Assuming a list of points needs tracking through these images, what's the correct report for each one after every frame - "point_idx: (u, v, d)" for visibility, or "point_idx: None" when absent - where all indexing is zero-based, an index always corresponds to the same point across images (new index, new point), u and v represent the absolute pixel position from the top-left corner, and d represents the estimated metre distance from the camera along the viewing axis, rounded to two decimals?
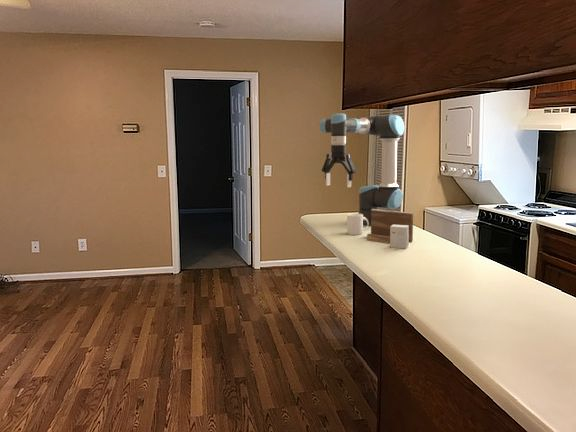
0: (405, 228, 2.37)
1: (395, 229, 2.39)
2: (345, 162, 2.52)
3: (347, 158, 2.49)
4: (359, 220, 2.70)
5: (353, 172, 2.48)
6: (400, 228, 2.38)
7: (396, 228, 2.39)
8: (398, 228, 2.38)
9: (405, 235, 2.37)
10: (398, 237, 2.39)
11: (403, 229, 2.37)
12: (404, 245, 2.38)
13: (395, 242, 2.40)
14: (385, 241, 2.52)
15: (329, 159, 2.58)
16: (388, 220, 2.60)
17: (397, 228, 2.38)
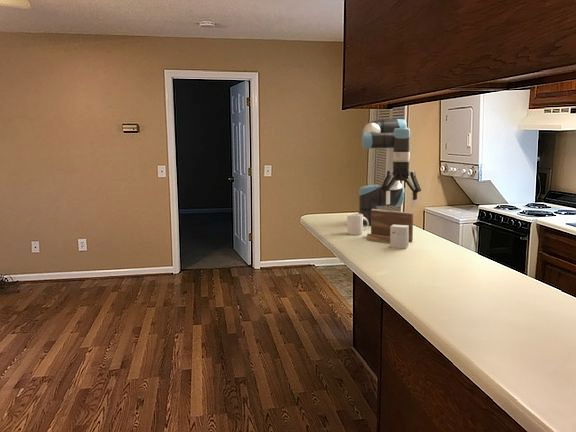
0: (405, 228, 2.37)
1: (395, 229, 2.39)
2: (409, 180, 2.34)
3: (412, 176, 2.31)
4: (359, 220, 2.70)
5: (418, 191, 2.30)
6: (400, 228, 2.38)
7: (396, 228, 2.39)
8: (398, 228, 2.38)
9: (405, 235, 2.37)
10: (398, 237, 2.39)
11: (403, 229, 2.37)
12: (404, 245, 2.38)
13: (395, 242, 2.40)
14: (385, 241, 2.52)
15: (390, 176, 2.41)
16: (388, 220, 2.60)
17: (397, 228, 2.38)
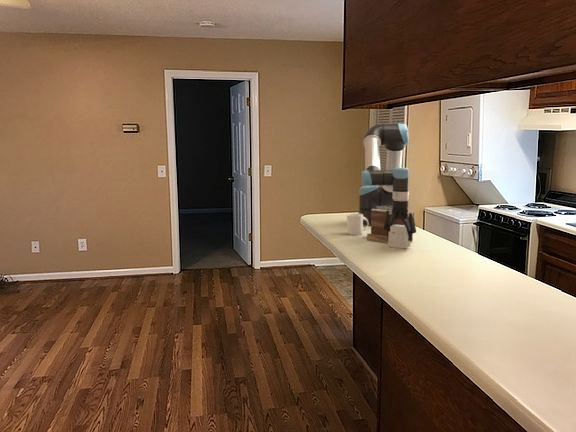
0: (405, 228, 2.37)
1: (395, 229, 2.39)
2: (406, 220, 2.38)
3: (410, 217, 2.35)
4: (359, 220, 2.70)
5: (413, 232, 2.35)
6: (400, 228, 2.38)
7: (396, 228, 2.39)
8: (398, 228, 2.38)
9: (405, 235, 2.37)
10: (398, 237, 2.39)
11: (403, 229, 2.37)
12: (404, 245, 2.38)
13: (395, 242, 2.40)
14: (385, 241, 2.52)
15: (390, 215, 2.44)
16: None
17: (397, 228, 2.38)
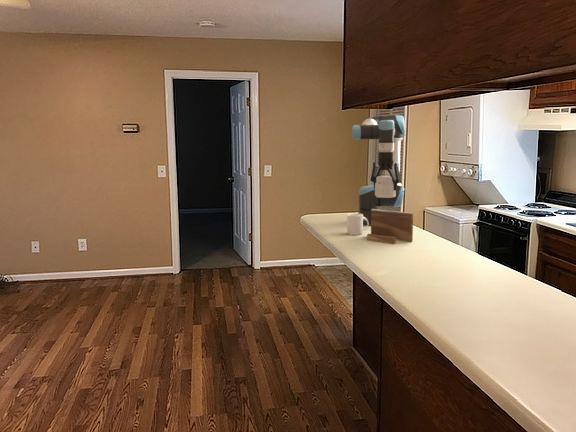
0: (390, 178, 2.47)
1: (381, 179, 2.49)
2: (392, 170, 2.48)
3: (395, 167, 2.45)
4: (359, 220, 2.70)
5: (398, 182, 2.45)
6: (386, 178, 2.48)
7: (382, 178, 2.49)
8: (384, 178, 2.49)
9: (390, 185, 2.48)
10: (383, 187, 2.49)
11: (388, 179, 2.48)
12: (389, 194, 2.49)
13: (381, 192, 2.50)
14: (385, 241, 2.52)
15: (376, 167, 2.54)
16: (388, 220, 2.60)
17: (383, 178, 2.49)
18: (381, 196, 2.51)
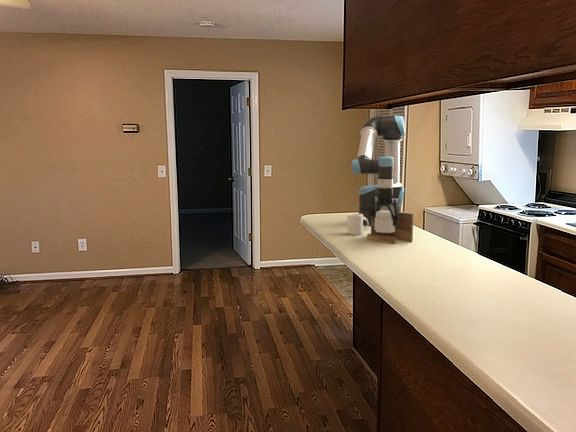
0: (390, 214, 2.50)
1: (380, 215, 2.52)
2: (391, 206, 2.51)
3: (394, 203, 2.48)
4: (359, 220, 2.70)
5: None
6: (385, 214, 2.51)
7: (381, 214, 2.52)
8: (383, 214, 2.52)
9: (390, 220, 2.51)
10: (383, 222, 2.52)
11: (388, 214, 2.51)
12: (389, 230, 2.52)
13: (380, 227, 2.53)
14: (385, 241, 2.52)
15: (376, 202, 2.57)
16: None
17: (382, 214, 2.52)
18: (380, 231, 2.54)
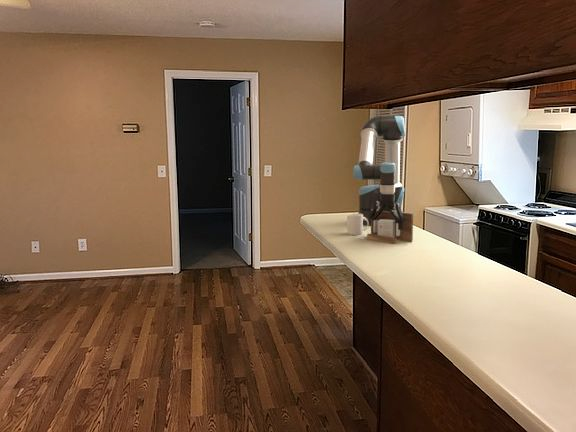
0: (391, 222, 2.52)
1: (382, 223, 2.54)
2: (394, 211, 2.53)
3: (397, 207, 2.50)
4: (359, 220, 2.70)
5: (403, 221, 2.49)
6: (387, 222, 2.53)
7: (383, 222, 2.54)
8: (385, 223, 2.54)
9: (391, 229, 2.53)
10: (384, 231, 2.55)
11: (389, 223, 2.53)
12: None
13: None
14: (385, 241, 2.52)
15: (377, 206, 2.59)
16: None
17: (384, 222, 2.54)
18: None
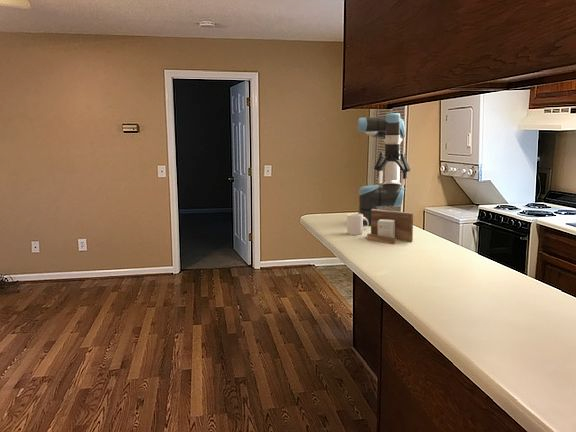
0: (391, 222, 2.52)
1: (382, 223, 2.54)
2: (399, 161, 2.57)
3: (402, 157, 2.54)
4: (359, 220, 2.70)
5: (408, 171, 2.53)
6: (387, 222, 2.53)
7: (383, 222, 2.54)
8: (385, 223, 2.54)
9: (391, 229, 2.53)
10: (384, 231, 2.55)
11: (389, 223, 2.53)
12: None
13: None
14: (385, 241, 2.52)
15: (382, 157, 2.64)
16: None
17: (384, 222, 2.54)
18: None
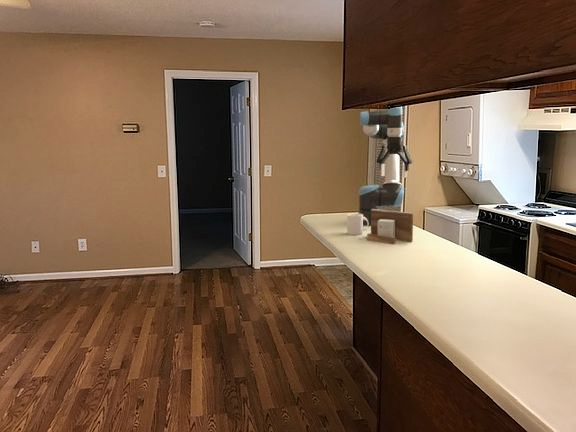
0: (391, 222, 2.52)
1: (382, 223, 2.54)
2: (401, 153, 2.60)
3: (404, 149, 2.57)
4: (359, 220, 2.70)
5: (410, 163, 2.56)
6: (387, 222, 2.53)
7: (383, 222, 2.54)
8: (385, 223, 2.54)
9: (391, 229, 2.53)
10: (384, 231, 2.55)
11: (389, 223, 2.53)
12: None
13: None
14: (385, 241, 2.52)
15: (384, 150, 2.66)
16: None
17: (384, 222, 2.54)
18: None
